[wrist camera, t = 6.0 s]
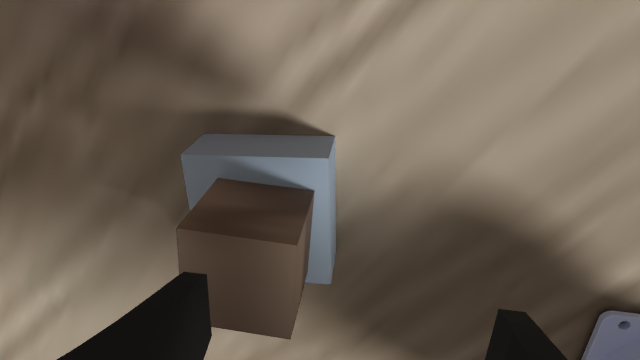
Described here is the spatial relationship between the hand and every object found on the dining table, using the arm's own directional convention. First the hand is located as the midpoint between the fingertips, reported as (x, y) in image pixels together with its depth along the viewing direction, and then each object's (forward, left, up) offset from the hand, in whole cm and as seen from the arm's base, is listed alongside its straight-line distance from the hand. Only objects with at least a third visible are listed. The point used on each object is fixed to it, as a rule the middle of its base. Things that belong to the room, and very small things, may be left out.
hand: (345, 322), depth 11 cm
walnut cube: (+4, +2, -7) cm, 8 cm away
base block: (+4, +2, -10) cm, 11 cm away
